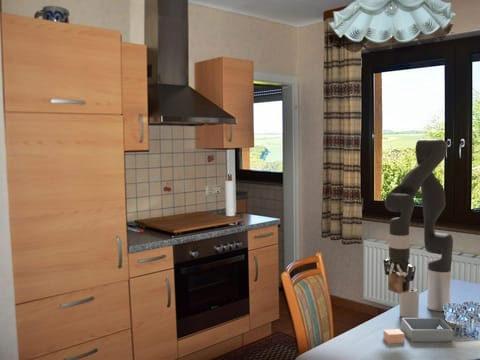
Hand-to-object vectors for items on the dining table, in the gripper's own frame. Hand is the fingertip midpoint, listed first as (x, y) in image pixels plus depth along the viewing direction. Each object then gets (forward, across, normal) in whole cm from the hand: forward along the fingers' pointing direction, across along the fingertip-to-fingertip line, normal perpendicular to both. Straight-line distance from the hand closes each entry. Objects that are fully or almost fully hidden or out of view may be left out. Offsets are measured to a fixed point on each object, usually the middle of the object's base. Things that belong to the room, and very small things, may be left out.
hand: (398, 288), depth 184 cm
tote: (+17, -8, -6) cm, 20 cm away
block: (+1, 0, 0) cm, 1 cm away
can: (+17, +9, -16) cm, 25 cm away
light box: (+17, -5, +8) cm, 19 cm away
